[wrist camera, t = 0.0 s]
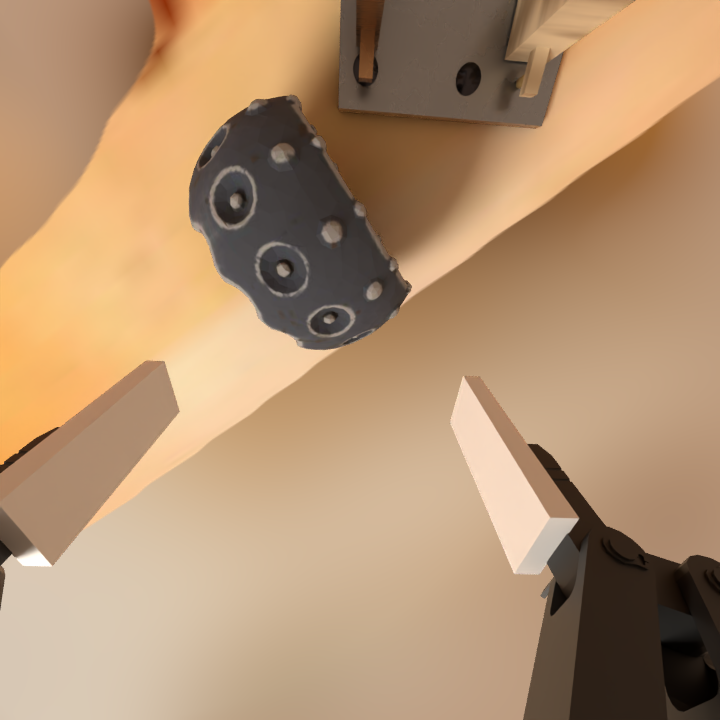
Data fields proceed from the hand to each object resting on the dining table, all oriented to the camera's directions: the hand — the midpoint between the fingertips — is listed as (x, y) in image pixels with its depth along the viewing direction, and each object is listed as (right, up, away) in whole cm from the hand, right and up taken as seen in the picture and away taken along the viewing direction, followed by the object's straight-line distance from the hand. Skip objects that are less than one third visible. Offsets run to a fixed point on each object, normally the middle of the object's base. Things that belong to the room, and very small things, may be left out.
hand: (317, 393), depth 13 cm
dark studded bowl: (-2, +17, +23) cm, 29 cm away
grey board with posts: (+11, +32, +15) cm, 37 cm away
